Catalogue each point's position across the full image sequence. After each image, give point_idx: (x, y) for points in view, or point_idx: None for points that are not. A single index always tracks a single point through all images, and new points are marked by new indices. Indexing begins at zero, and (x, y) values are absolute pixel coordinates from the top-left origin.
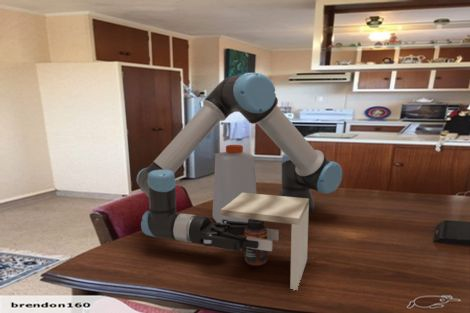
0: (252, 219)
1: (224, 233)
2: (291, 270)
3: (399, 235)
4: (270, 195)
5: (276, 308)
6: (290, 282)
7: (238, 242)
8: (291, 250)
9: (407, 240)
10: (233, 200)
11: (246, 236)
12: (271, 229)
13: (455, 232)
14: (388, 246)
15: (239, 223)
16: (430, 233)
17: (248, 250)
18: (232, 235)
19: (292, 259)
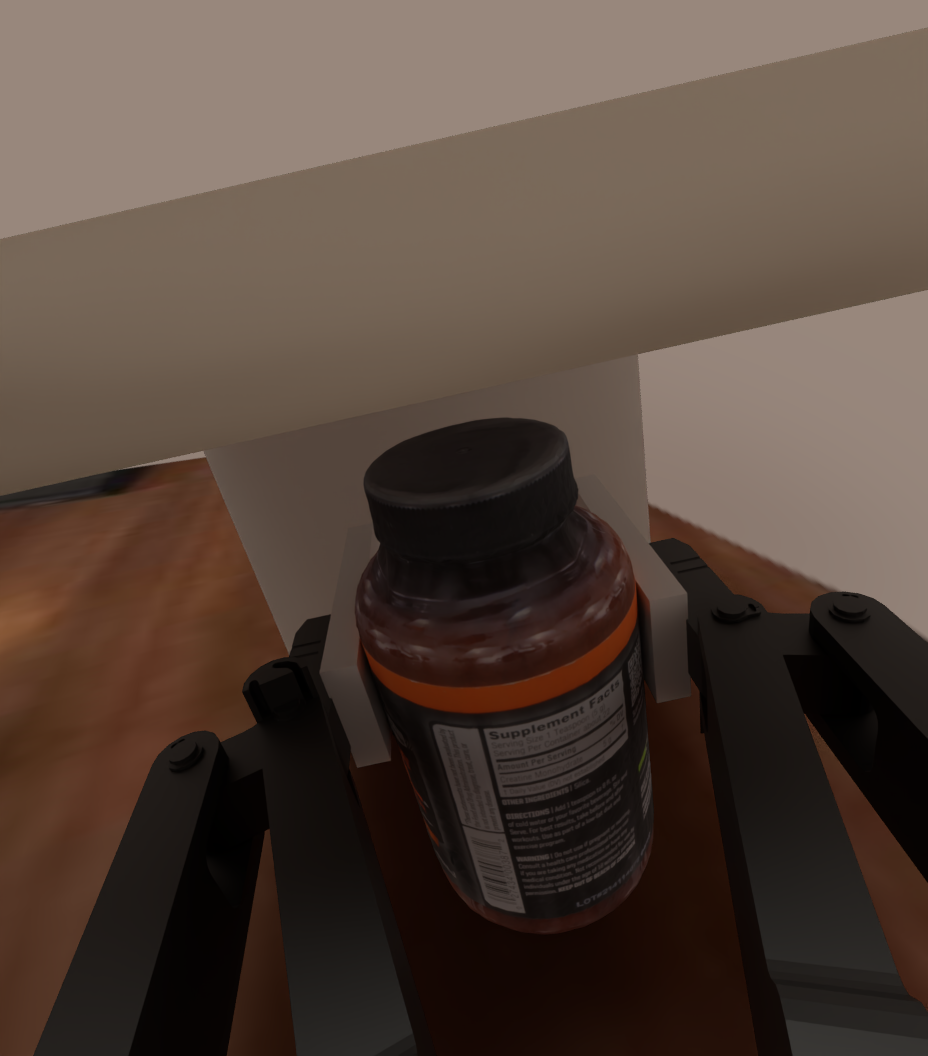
0: (460, 469)
1: (858, 944)
2: (647, 519)
3: (52, 540)
4: None
5: None
6: None
7: (868, 603)
8: (639, 407)
9: (101, 522)
10: (259, 185)
11: (632, 631)
12: (354, 556)
13: (60, 485)
14: (148, 536)
15: (157, 970)
16: (55, 506)
17: (646, 736)
18: (778, 754)
19: (641, 456)
